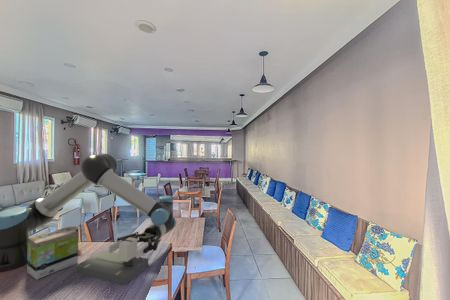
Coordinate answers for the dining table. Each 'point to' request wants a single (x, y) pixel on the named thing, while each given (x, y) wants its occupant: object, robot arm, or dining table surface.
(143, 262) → the console
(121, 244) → the fader knob
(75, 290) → the dining table surface
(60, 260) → the tea box
